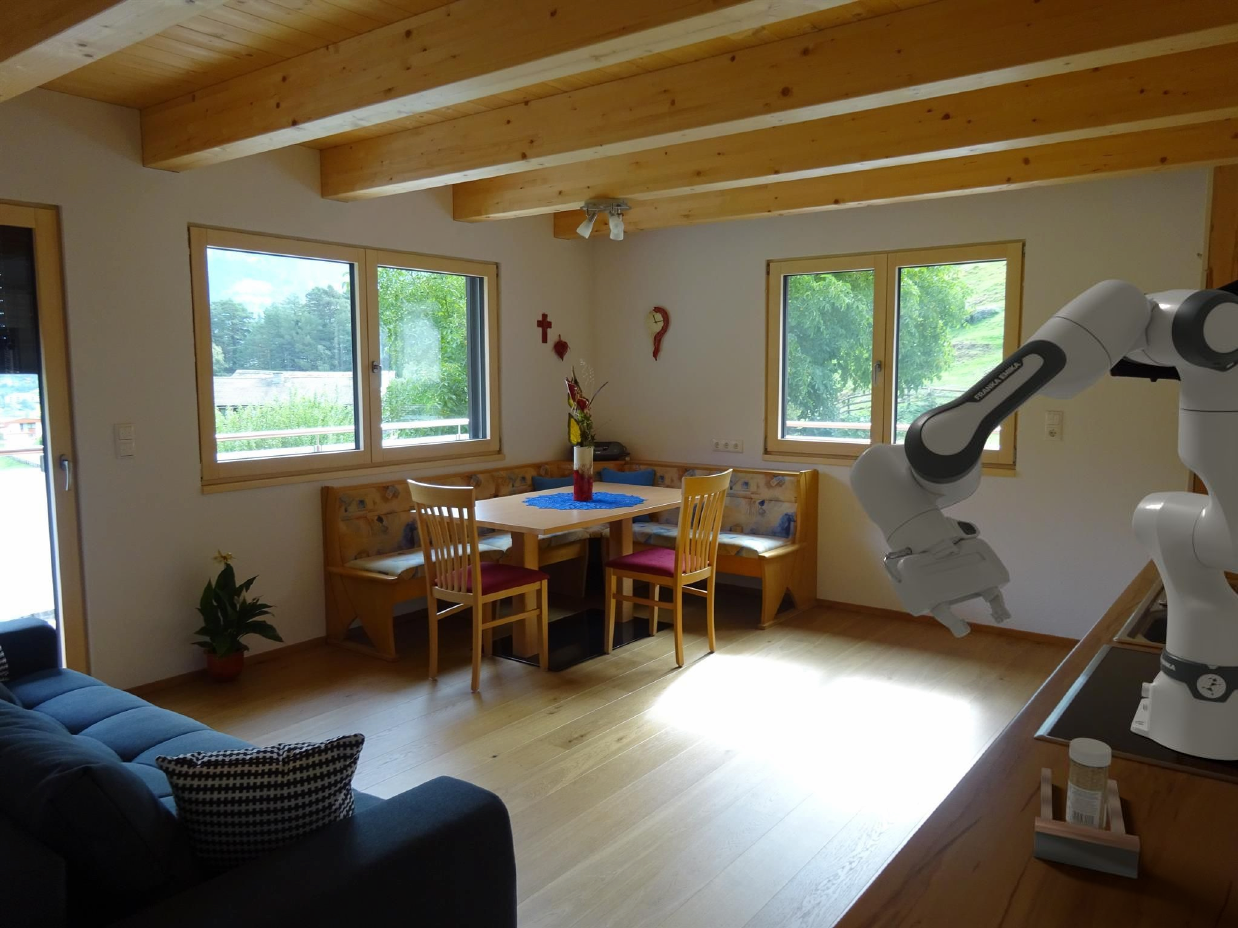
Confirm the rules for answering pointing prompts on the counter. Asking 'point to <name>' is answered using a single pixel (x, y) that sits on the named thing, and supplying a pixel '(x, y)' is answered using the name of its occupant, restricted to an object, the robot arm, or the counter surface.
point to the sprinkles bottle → (1088, 783)
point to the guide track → (1086, 837)
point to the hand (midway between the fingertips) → (985, 627)
